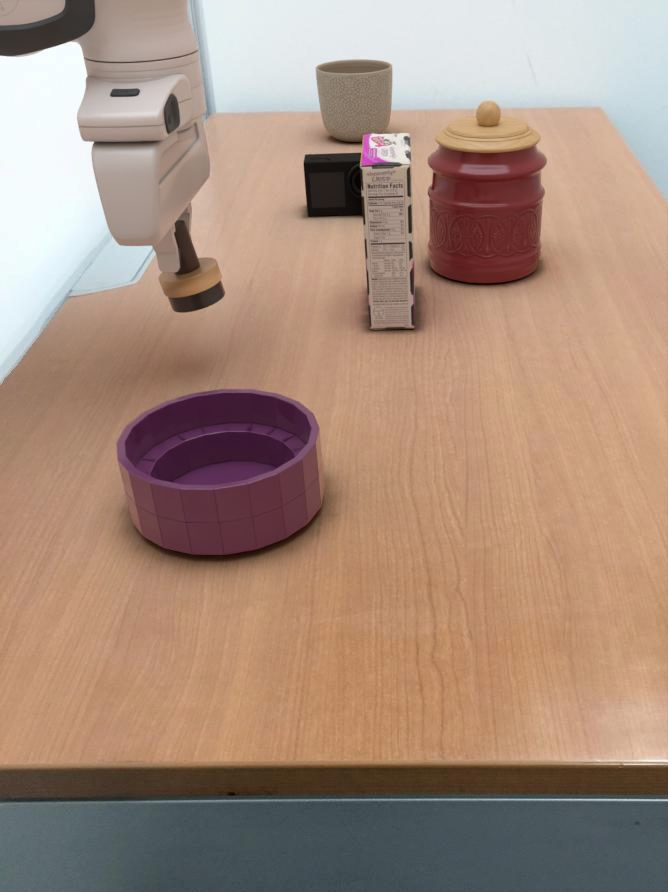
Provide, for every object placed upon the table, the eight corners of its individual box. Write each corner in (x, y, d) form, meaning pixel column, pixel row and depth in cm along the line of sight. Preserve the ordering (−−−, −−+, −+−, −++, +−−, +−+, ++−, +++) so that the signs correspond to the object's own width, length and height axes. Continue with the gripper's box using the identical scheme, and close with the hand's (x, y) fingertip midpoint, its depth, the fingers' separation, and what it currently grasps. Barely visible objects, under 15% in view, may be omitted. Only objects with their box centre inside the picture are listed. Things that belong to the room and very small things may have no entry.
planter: (316, 131, 164) (311, 61, 158) (387, 126, 166) (385, 57, 160) (324, 149, 154) (319, 75, 148) (400, 144, 156) (398, 71, 150)
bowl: (108, 560, 66) (89, 488, 63) (160, 454, 78) (146, 388, 74) (311, 563, 65) (304, 490, 62) (333, 456, 77) (328, 389, 73)
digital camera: (306, 219, 126) (301, 164, 121) (308, 207, 130) (304, 153, 126) (385, 217, 126) (383, 162, 122) (384, 204, 130) (382, 151, 126)
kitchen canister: (559, 258, 112) (572, 95, 102) (506, 294, 104) (514, 120, 93) (464, 239, 118) (466, 84, 108) (406, 272, 109) (403, 106, 99)
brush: (163, 318, 85) (133, 241, 81) (178, 295, 89) (150, 221, 85) (220, 307, 84) (193, 229, 80) (232, 283, 88) (207, 208, 84)
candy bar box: (368, 289, 105) (361, 132, 96) (414, 288, 105) (411, 131, 96) (366, 331, 96) (358, 162, 87) (415, 330, 96) (413, 161, 87)
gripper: (144, 68, 85) (170, 224, 93) (67, 123, 68) (108, 307, 77) (214, 67, 85) (234, 223, 93) (154, 122, 68) (185, 306, 76)
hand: (176, 262), depth 84 cm, fingers closed on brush, 2 cm apart
